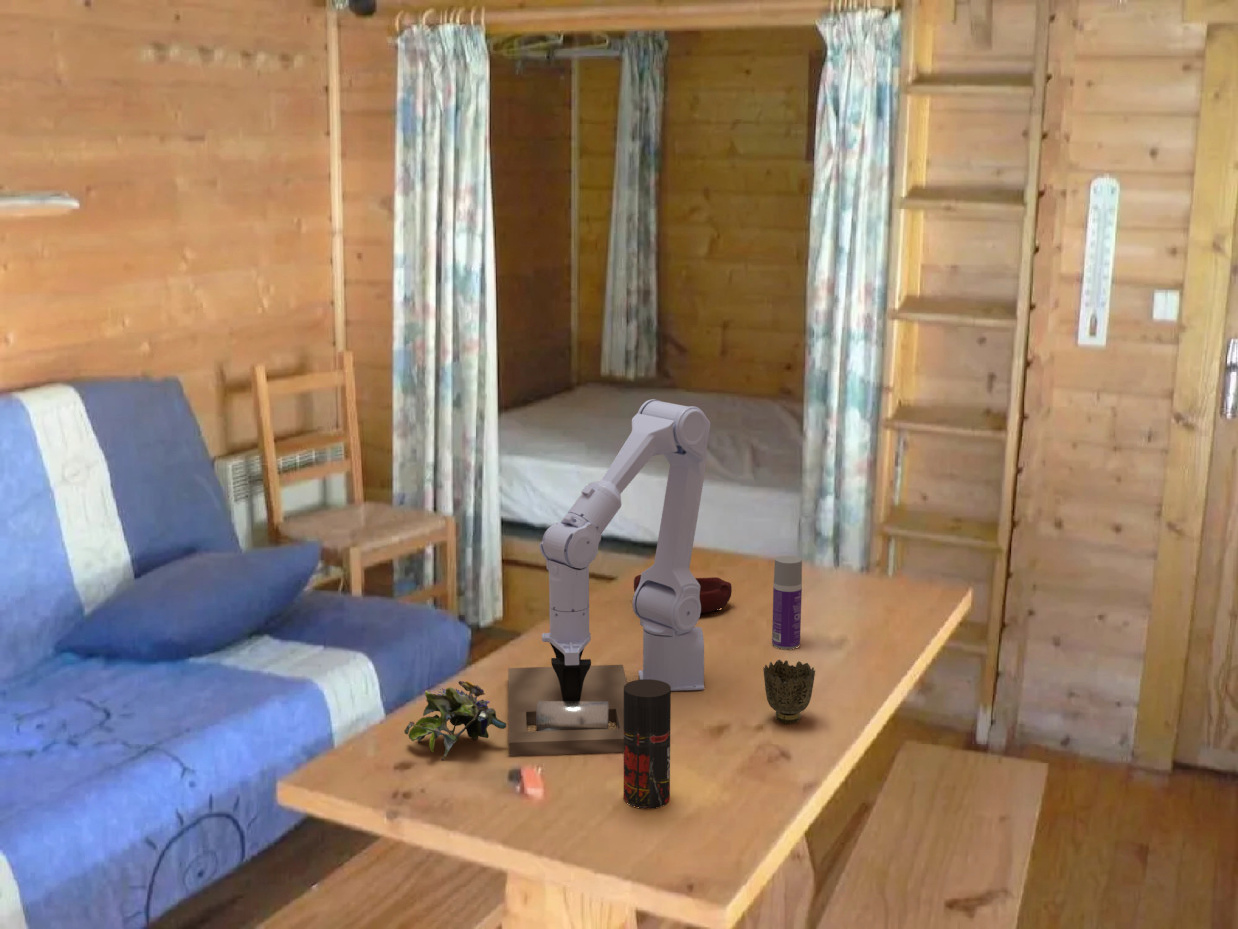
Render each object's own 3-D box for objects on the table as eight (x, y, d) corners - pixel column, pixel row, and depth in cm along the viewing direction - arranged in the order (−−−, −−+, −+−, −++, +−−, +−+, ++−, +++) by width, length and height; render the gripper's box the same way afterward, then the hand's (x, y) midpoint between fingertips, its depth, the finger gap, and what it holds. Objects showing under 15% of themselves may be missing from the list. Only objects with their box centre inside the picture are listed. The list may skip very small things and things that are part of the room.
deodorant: (621, 788, 178) (621, 680, 175) (667, 787, 178) (668, 678, 175) (625, 810, 172) (625, 697, 169) (672, 808, 173) (673, 696, 169)
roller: (608, 725, 197) (608, 695, 195) (607, 744, 192) (607, 712, 191) (539, 725, 197) (538, 694, 195) (536, 743, 192) (535, 712, 191)
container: (798, 650, 227) (801, 564, 224) (770, 648, 228) (772, 562, 225) (801, 641, 232) (803, 556, 228) (773, 639, 233) (775, 554, 229)
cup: (818, 714, 202) (819, 662, 200) (808, 733, 195) (809, 680, 193) (768, 707, 204) (769, 656, 202) (756, 726, 197) (758, 674, 195)
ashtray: (607, 613, 247) (607, 586, 246) (657, 590, 260) (657, 564, 259) (691, 632, 237) (691, 604, 236) (738, 607, 250) (739, 581, 249)
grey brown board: (622, 676, 216) (622, 664, 216) (640, 751, 189) (640, 738, 188) (508, 680, 215) (508, 668, 214) (509, 756, 187) (508, 742, 187)
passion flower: (473, 775, 194) (522, 712, 192) (441, 794, 184) (492, 728, 181) (415, 722, 197) (463, 659, 194) (381, 738, 186) (430, 672, 184)
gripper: (540, 590, 204) (541, 677, 207) (542, 623, 190) (544, 715, 193) (587, 589, 204) (588, 675, 207) (593, 621, 190) (594, 713, 193)
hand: (570, 694), depth 200 cm, fingers open, 7 cm apart
